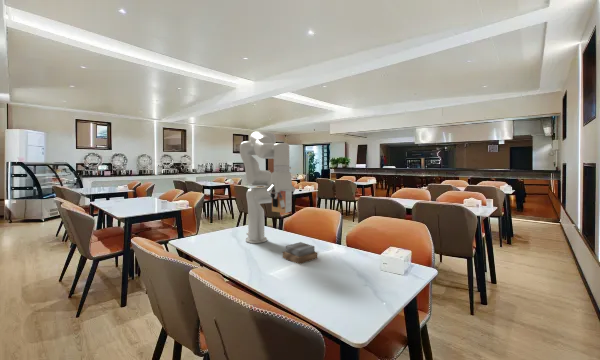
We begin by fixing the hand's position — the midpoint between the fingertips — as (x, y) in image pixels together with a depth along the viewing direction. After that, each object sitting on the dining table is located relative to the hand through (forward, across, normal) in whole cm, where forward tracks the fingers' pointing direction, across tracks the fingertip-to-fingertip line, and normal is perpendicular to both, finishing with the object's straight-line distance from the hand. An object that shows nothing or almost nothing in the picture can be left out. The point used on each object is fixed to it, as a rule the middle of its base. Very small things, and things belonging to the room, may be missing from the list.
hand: (281, 205), depth 141 cm
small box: (+3, 0, 0) cm, 3 cm away
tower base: (+26, -7, +5) cm, 27 cm away
